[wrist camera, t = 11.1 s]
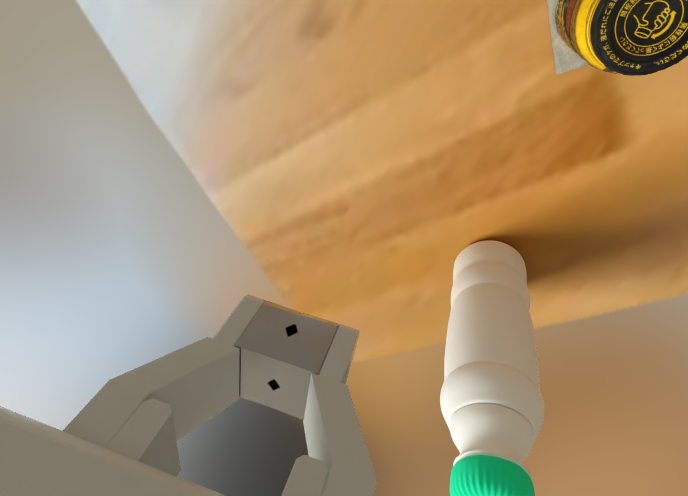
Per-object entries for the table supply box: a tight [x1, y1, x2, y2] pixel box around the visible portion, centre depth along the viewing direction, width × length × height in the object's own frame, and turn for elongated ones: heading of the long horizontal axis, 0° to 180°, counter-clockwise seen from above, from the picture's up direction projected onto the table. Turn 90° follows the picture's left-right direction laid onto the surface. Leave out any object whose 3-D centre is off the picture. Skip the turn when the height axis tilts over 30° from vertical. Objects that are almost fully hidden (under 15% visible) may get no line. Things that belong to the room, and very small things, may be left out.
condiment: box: [547, 0, 688, 76], centre depth 25 cm, size 7×8×12 cm
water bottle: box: [440, 240, 545, 496], centre depth 34 cm, size 7×7×25 cm
